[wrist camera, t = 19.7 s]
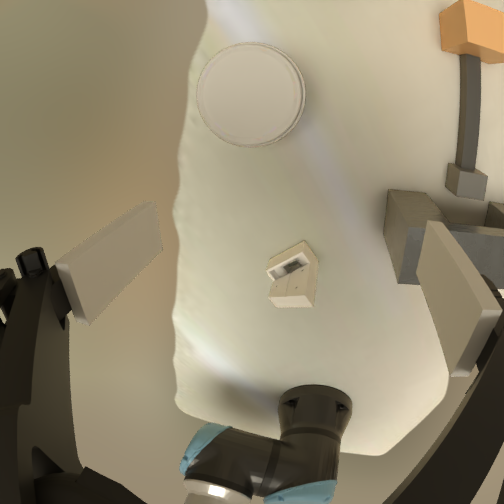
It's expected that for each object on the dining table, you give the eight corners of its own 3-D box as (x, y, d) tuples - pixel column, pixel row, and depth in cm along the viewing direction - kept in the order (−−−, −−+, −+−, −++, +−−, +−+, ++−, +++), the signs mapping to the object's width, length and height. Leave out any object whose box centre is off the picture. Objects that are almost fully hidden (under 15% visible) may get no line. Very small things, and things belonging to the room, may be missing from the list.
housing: (506, 245, 33) (542, 290, 23) (383, 233, 38) (397, 283, 28) (515, 205, 30) (559, 244, 20) (388, 189, 35) (408, 226, 25)
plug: (480, 191, 31) (507, 215, 24) (434, 184, 33) (457, 206, 26) (487, 28, 21) (518, 19, 14) (438, 14, 22) (462, -3, 15)
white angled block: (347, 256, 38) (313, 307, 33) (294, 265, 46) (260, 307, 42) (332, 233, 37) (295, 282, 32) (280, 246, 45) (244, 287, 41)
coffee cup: (231, 128, 36) (191, 144, 26) (236, 55, 31) (195, 41, 21) (308, 137, 34) (298, 155, 24) (316, 61, 30) (309, 44, 19)
